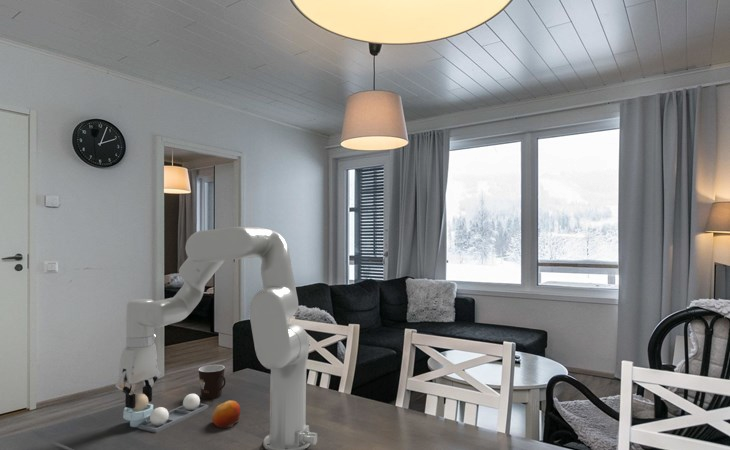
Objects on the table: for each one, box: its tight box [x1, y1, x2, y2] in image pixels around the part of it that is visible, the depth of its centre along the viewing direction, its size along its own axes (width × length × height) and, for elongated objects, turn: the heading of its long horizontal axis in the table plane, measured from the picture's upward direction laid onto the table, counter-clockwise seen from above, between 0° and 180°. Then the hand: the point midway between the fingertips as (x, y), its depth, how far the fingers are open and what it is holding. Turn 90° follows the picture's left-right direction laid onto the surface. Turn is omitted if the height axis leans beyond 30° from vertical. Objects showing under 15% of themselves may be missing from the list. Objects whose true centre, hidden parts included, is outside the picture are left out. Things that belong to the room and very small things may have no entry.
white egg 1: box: [149, 406, 169, 426], centre depth 132 cm, size 5×5×5 cm
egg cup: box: [122, 403, 154, 428], centre depth 132 cm, size 8×8×5 cm
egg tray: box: [137, 402, 209, 434], centre depth 137 cm, size 7×20×1 cm, turn 157°
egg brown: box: [131, 392, 149, 412], centre depth 133 cm, size 5×5×5 cm
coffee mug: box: [198, 364, 226, 400], centre depth 155 cm, size 12×9×10 cm
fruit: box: [211, 400, 241, 429], centre depth 133 cm, size 8×8×8 cm
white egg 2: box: [182, 393, 201, 410], centre depth 144 cm, size 5×5×5 cm
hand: (138, 403), depth 133 cm, fingers closed on egg brown, 5 cm apart
